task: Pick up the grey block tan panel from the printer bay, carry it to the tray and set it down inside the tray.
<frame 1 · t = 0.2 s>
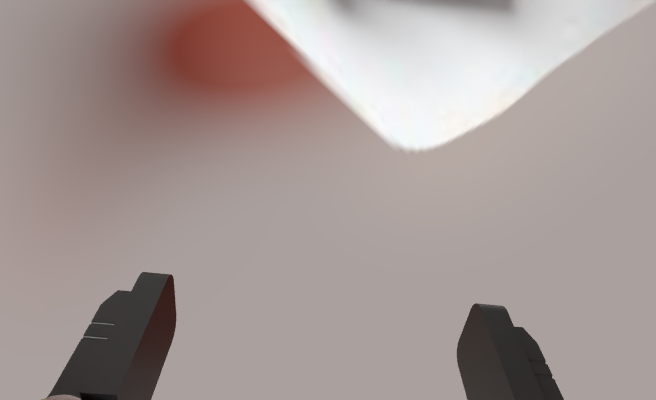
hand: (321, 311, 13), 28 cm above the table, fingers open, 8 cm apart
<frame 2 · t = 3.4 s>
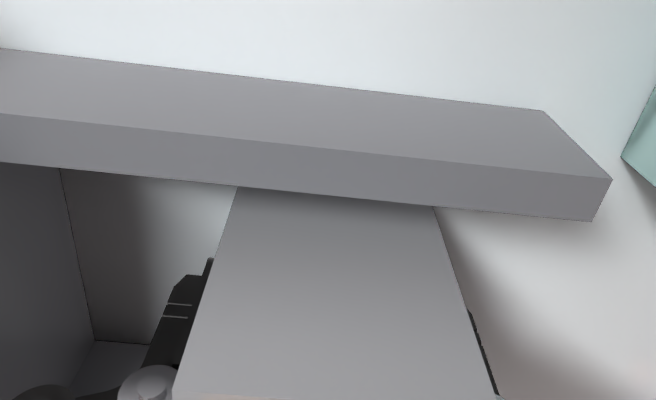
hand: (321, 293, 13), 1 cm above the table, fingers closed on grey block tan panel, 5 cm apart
printer bay: (322, 260, 15), on the table
grey block tan panel: (323, 260, 15), on the table, touching gripper
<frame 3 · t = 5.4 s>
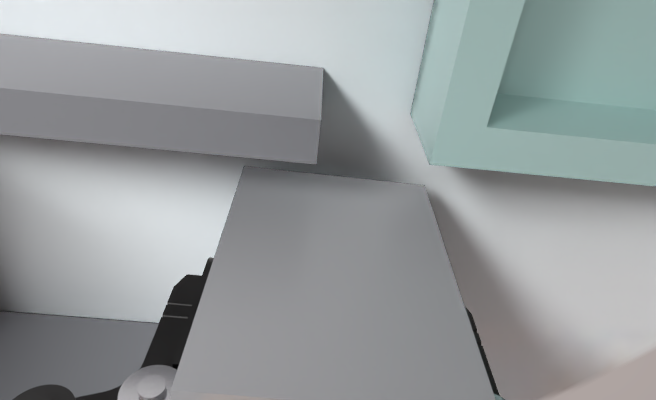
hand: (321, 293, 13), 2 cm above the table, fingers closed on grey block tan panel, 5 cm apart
printer bay: (149, 223, 15), on the table
grey block tan panel: (323, 260, 15), point 1 cm above the table, touching gripper
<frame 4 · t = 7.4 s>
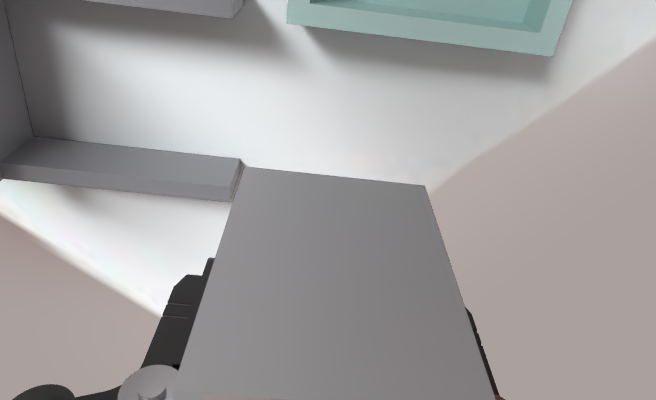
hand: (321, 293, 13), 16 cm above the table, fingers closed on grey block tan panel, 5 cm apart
printer bay: (153, 78, 27), on the table
grey block tan panel: (323, 260, 15), point 15 cm above the table, touching gripper
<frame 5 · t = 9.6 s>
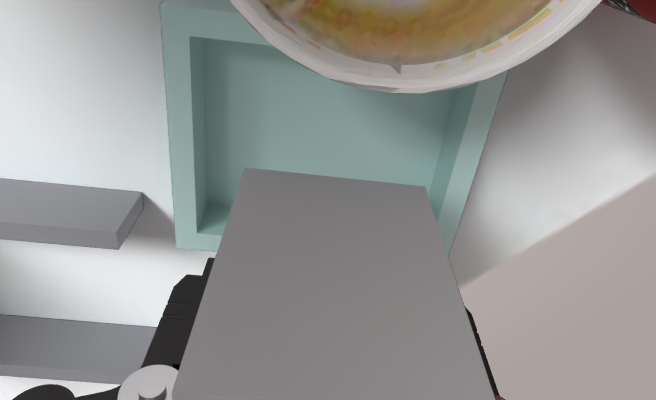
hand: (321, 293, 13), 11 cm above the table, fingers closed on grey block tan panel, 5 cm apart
printer bay: (61, 265, 27), on the table
tray: (325, 131, 23), on the table
grey block tan panel: (323, 261, 15), point 10 cm above the table, touching gripper
when the fingers open (3 cm above the table, at t = 11.4 s): grey block tan panel drops 1 cm, resting on tray.
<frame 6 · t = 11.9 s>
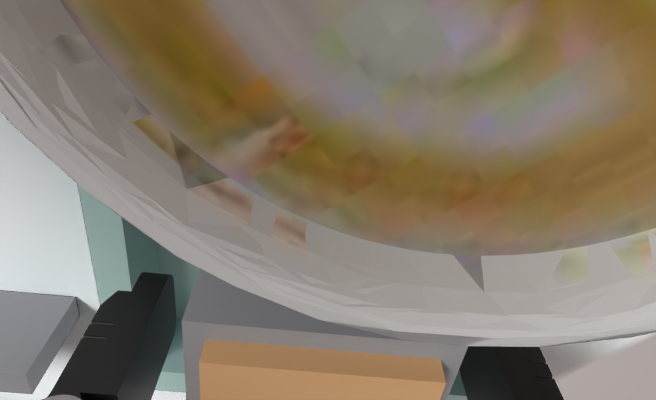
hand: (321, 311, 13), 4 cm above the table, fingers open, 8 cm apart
tray: (323, 224, 16), on the table
grey block tan panel: (317, 233, 16), point 1 cm above the table, touching tray
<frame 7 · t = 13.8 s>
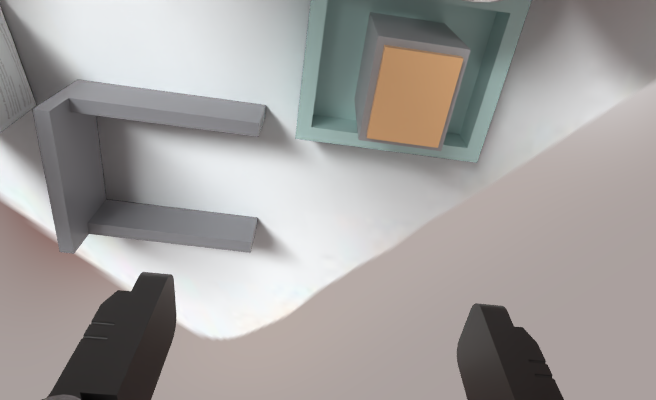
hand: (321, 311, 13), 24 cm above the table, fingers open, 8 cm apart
printer bay: (197, 162, 37), on the table
tray: (399, 61, 33), on the table
grey block tan panel: (397, 63, 33), point 1 cm above the table, touching tray
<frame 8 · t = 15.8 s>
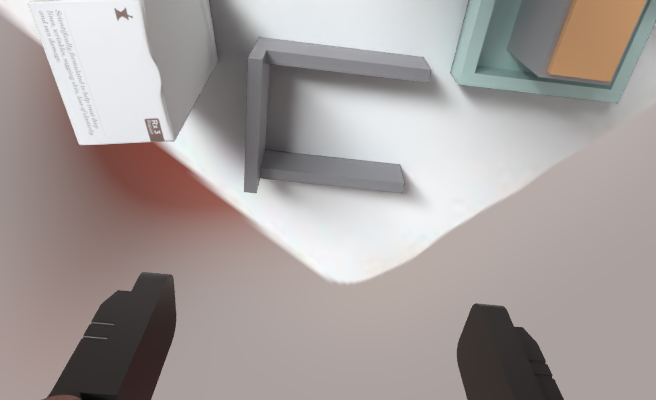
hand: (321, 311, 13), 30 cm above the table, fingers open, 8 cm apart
skincare box: (178, 16, 38), on the table
printer bay: (353, 113, 42), on the table
tray: (549, 13, 37), on the table
grey block tan panel: (550, 14, 37), point 1 cm above the table, touching tray
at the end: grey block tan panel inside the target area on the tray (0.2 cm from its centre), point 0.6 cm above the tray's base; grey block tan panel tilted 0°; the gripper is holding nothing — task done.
